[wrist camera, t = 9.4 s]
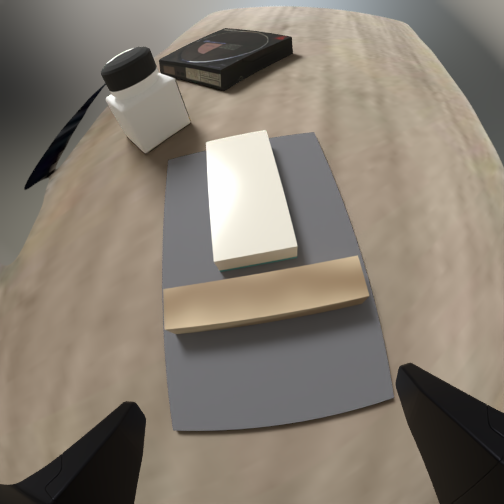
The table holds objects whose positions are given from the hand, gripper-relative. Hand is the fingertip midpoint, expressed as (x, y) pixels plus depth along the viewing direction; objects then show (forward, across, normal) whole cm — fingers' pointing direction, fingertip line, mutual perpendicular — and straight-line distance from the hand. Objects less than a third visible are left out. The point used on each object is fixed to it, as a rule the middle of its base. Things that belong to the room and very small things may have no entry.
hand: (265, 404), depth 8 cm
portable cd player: (+42, 0, -26) cm, 50 cm away
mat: (+15, 0, 0) cm, 15 cm away
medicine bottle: (+30, +10, -14) cm, 35 cm away
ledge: (+12, 0, +3) cm, 12 cm away
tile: (+18, 0, -5) cm, 18 cm away
